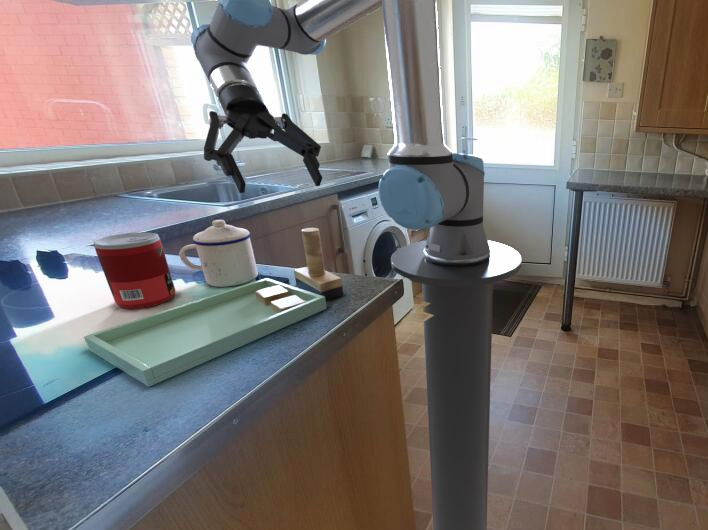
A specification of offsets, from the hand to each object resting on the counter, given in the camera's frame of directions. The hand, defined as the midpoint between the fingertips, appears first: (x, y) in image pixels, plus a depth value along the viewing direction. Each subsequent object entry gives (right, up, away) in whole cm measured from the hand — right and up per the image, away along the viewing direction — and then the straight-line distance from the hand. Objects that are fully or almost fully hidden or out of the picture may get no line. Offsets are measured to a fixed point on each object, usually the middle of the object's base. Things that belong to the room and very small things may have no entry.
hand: (283, 185), depth 77 cm
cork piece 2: (+6, -23, -10) cm, 26 cm away
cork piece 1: (+2, -21, -6) cm, 22 cm away
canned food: (-20, -22, -7) cm, 30 cm away
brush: (+7, -20, 0) cm, 21 cm away
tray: (-1, -26, -14) cm, 29 cm away
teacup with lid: (-13, -18, +3) cm, 22 cm away
